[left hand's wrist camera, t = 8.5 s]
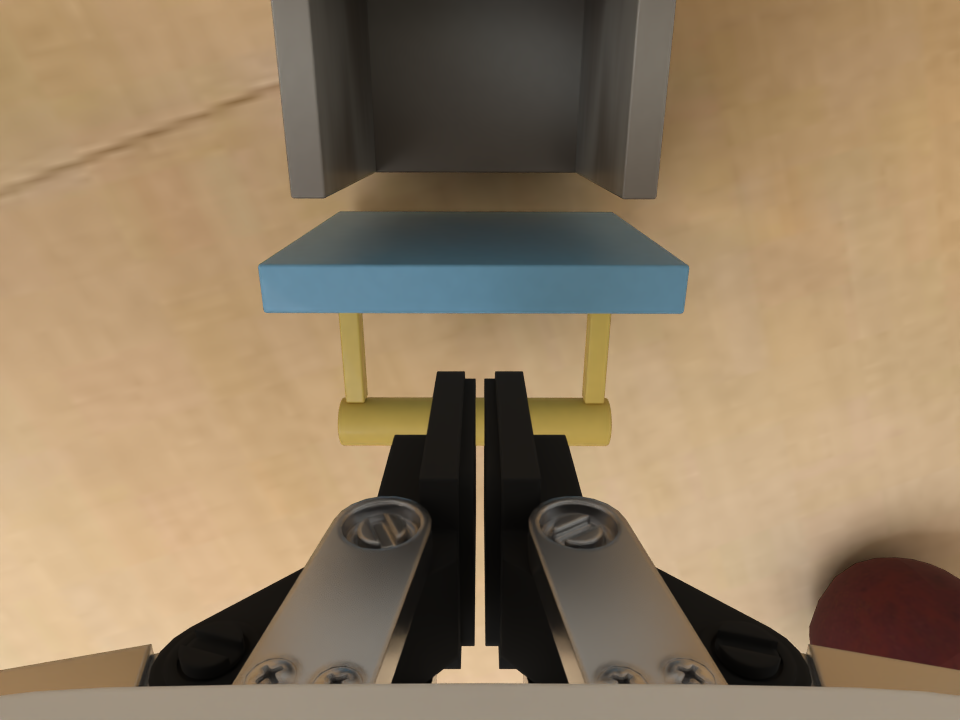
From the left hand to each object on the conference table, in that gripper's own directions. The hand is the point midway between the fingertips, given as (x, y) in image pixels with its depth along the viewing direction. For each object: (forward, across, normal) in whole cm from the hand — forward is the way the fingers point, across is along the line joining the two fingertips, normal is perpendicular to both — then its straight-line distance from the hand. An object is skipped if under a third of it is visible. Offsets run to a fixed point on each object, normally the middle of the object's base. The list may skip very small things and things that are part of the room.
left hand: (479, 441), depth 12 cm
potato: (+14, +18, -16) cm, 28 cm away
